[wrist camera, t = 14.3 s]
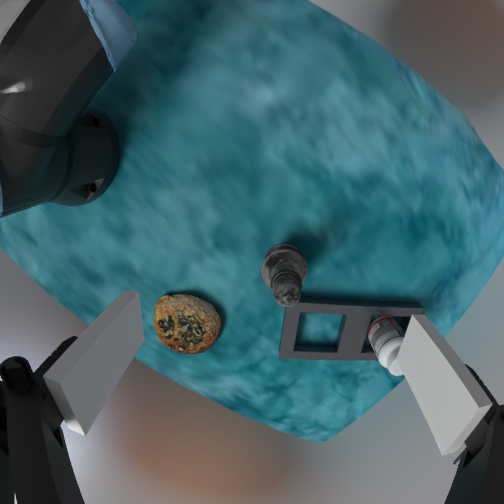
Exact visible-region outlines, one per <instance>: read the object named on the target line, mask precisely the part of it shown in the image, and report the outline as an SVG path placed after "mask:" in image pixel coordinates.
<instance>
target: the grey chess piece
mask: <svg viewBox="0 0 504 504" xmlns="http://www.w3.org/2000/svg"><path fill="white" fill-rule="evenodd" d="M307 275H308V267H307V263H306V261H305V259H304V258H303V257H302V255H301V253H300V251H299V250H298V249H297V248H296V247H294V246H292V245H289V244H279V245H276V246H274V247H272V248H271V249H270V250H269V251H268V253H267V254H266V257H265V261H264V263H263V266H262V276H263V280H264V281H265V283H266V284H267V285H268V286H269V287H270V288H271V289H272V291H273V292H274V298H275V300H276V302H277V303H278V304H279V305H281V306H284V307H290V306H293V305H295V304H297V303H298V301H299V300H300V297H301V291H300V290H301V287H302V285H303V283H304V282H305V280H306V278H307Z"/></svg>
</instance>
